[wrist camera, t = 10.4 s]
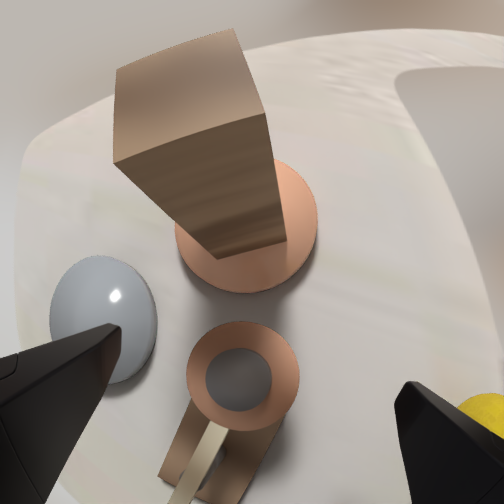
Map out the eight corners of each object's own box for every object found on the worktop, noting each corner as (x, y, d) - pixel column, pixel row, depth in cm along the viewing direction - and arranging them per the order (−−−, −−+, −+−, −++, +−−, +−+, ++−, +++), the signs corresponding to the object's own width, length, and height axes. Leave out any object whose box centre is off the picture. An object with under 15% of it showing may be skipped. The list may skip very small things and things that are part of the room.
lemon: (423, 463, 16) (469, 509, 9) (428, 394, 18) (485, 418, 10) (484, 445, 16) (541, 475, 8) (489, 379, 17) (555, 390, 10)
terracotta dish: (336, 268, 21) (337, 265, 20) (196, 309, 22) (190, 308, 21) (291, 147, 24) (290, 139, 23) (171, 186, 25) (165, 179, 24)
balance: (211, 543, 17) (175, 606, 8) (145, 510, 18) (89, 559, 10) (315, 344, 20) (326, 352, 12) (233, 310, 22) (190, 295, 13)
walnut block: (287, 241, 21) (265, 112, 8) (217, 259, 21) (113, 163, 9) (269, 178, 22) (233, 28, 10) (204, 196, 23) (116, 69, 10)
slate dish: (171, 373, 21) (164, 375, 20) (70, 388, 22) (61, 390, 21) (144, 243, 24) (137, 239, 23) (52, 276, 25) (44, 274, 23)
